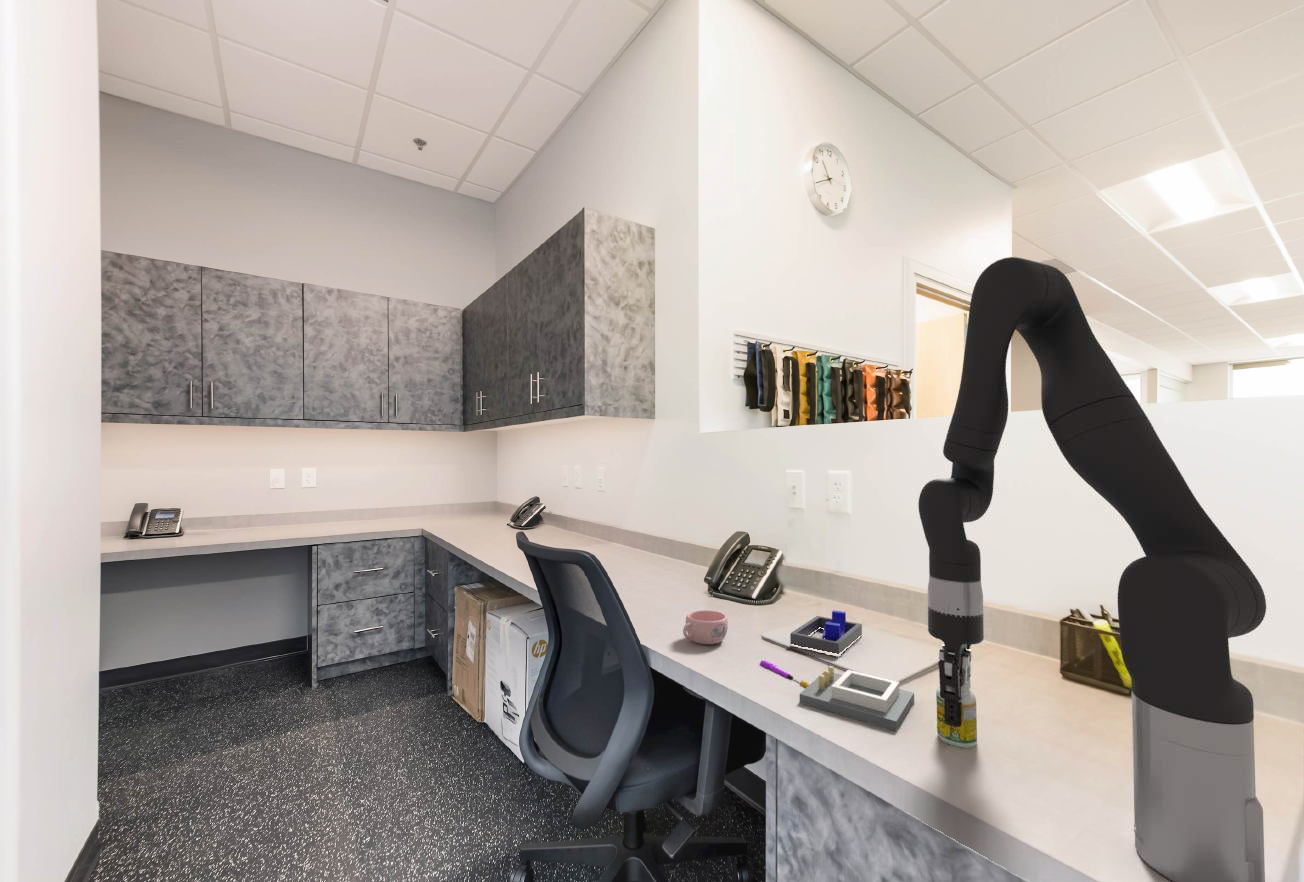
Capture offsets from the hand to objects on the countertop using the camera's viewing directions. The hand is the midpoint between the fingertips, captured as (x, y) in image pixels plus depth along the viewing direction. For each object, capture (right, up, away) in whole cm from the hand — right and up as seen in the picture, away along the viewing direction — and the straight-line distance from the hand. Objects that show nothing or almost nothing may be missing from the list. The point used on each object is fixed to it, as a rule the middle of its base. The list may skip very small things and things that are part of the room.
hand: (956, 716), depth 83 cm
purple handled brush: (-19, -5, +23) cm, 31 cm away
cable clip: (-5, -5, +43) cm, 43 cm away
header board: (-11, -4, +12) cm, 17 cm away
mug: (-35, -5, +43) cm, 56 cm away
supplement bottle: (0, -4, 0) cm, 4 cm away
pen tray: (-6, -5, +43) cm, 44 cm away
